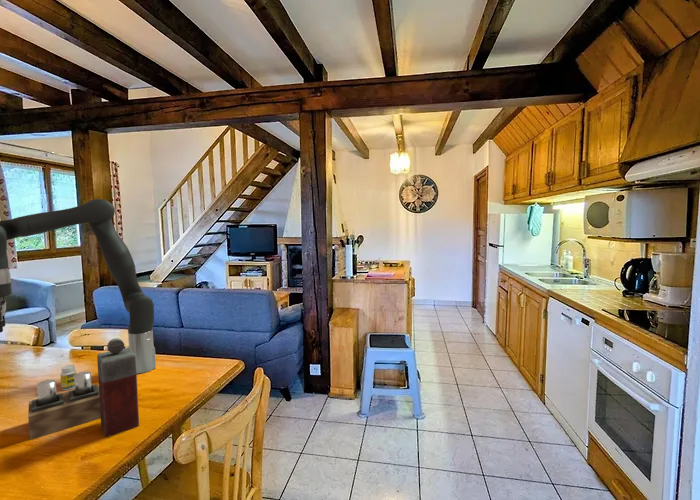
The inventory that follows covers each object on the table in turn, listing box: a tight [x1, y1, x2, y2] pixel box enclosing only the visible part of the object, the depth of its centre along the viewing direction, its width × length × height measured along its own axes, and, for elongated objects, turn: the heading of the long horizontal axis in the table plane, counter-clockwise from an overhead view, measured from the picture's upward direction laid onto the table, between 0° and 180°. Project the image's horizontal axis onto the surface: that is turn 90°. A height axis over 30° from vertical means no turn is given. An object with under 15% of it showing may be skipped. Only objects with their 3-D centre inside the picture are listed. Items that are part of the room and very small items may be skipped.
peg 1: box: [36, 378, 58, 406], centre depth 109 cm, size 4×4×7 cm
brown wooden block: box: [27, 383, 101, 440], centre depth 113 cm, size 18×12×8 cm, turn 132°
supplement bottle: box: [60, 364, 77, 391], centre depth 135 cm, size 5×5×8 cm
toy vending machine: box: [96, 337, 140, 438], centre depth 110 cm, size 9×11×28 cm
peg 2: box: [74, 370, 92, 397], centre depth 115 cm, size 4×4×7 cm
